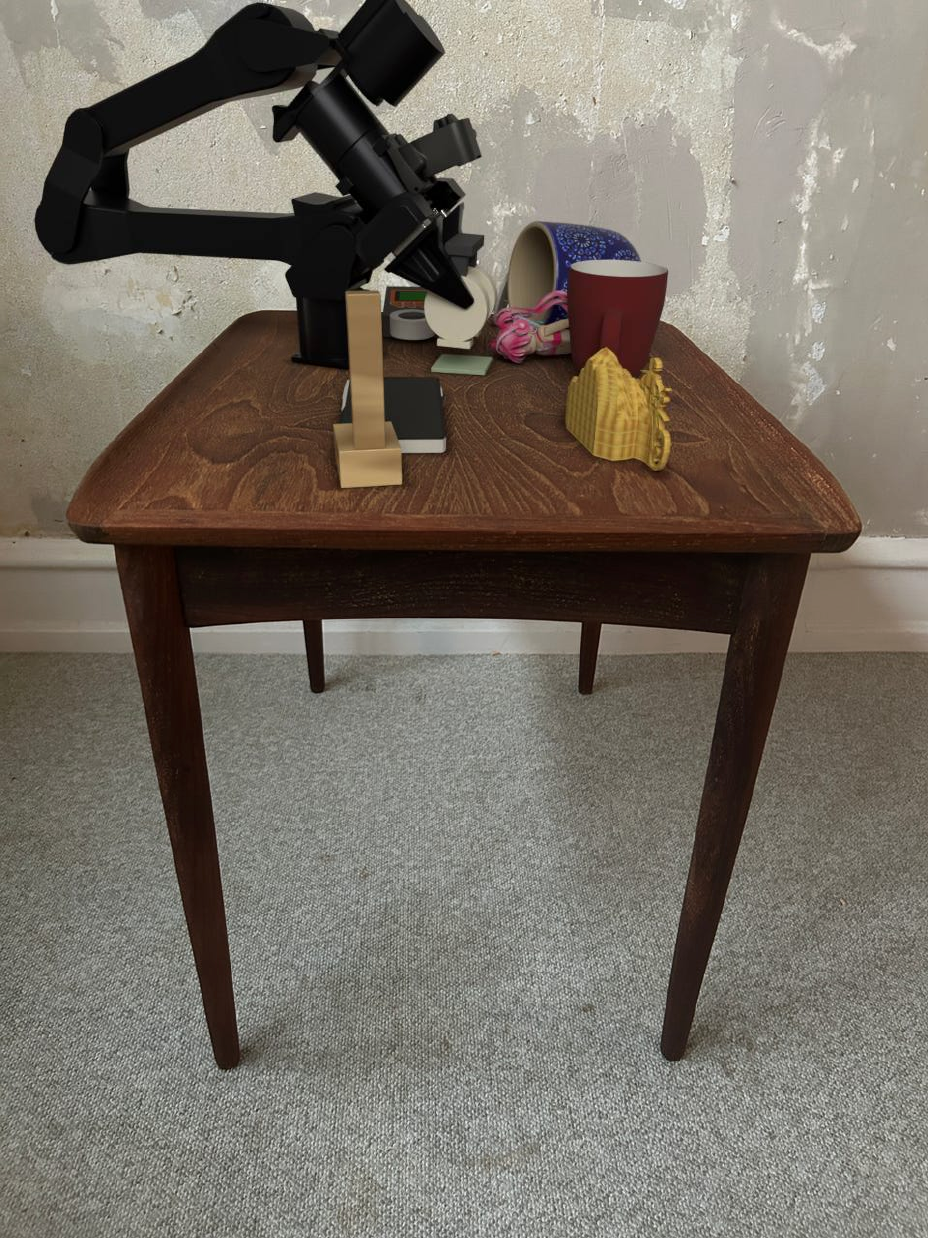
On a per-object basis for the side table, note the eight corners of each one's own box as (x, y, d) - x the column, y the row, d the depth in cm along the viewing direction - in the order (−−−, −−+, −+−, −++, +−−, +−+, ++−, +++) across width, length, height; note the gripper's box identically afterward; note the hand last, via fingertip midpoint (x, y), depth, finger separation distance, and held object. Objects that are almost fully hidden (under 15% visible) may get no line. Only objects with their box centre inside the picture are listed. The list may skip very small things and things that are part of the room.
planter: (635, 357, 91) (540, 355, 86) (588, 316, 98) (498, 313, 94) (668, 248, 84) (566, 240, 80) (614, 214, 92) (519, 205, 87)
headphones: (422, 344, 78) (426, 241, 74) (437, 327, 84) (441, 230, 79) (484, 350, 77) (491, 247, 73) (494, 333, 83) (502, 236, 78)
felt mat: (431, 371, 80) (431, 367, 80) (441, 357, 84) (441, 353, 84) (484, 375, 79) (485, 371, 79) (492, 361, 84) (492, 356, 83)
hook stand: (334, 454, 62) (323, 275, 55) (390, 451, 62) (385, 274, 56) (341, 488, 57) (329, 294, 50) (402, 484, 57) (398, 293, 51)
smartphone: (333, 439, 61) (345, 376, 74) (334, 455, 62) (346, 390, 75) (448, 439, 62) (440, 376, 74) (448, 455, 62) (440, 390, 75)
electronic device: (381, 318, 87) (386, 281, 100) (382, 347, 89) (387, 308, 101) (448, 319, 88) (445, 282, 100) (447, 348, 89) (445, 309, 102)
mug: (663, 414, 71) (681, 284, 65) (563, 411, 71) (573, 281, 66) (646, 377, 80) (661, 260, 74) (558, 374, 80) (566, 258, 75)
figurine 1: (489, 334, 96) (558, 357, 95) (497, 289, 91) (569, 312, 90) (506, 306, 99) (573, 328, 98) (514, 261, 94) (584, 283, 93)
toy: (630, 381, 88) (488, 382, 84) (616, 336, 90) (477, 335, 86) (661, 330, 81) (509, 328, 77) (645, 283, 83) (496, 278, 79)
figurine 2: (604, 419, 69) (614, 327, 65) (669, 476, 59) (684, 371, 56) (560, 422, 68) (567, 329, 65) (618, 480, 58) (630, 373, 55)
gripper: (398, 72, 62) (535, 252, 67) (448, 76, 78) (556, 221, 83) (296, 185, 67) (430, 345, 72) (363, 167, 83) (469, 299, 88)
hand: (476, 297), depth 78 cm, fingers closed on headphones, 6 cm apart
